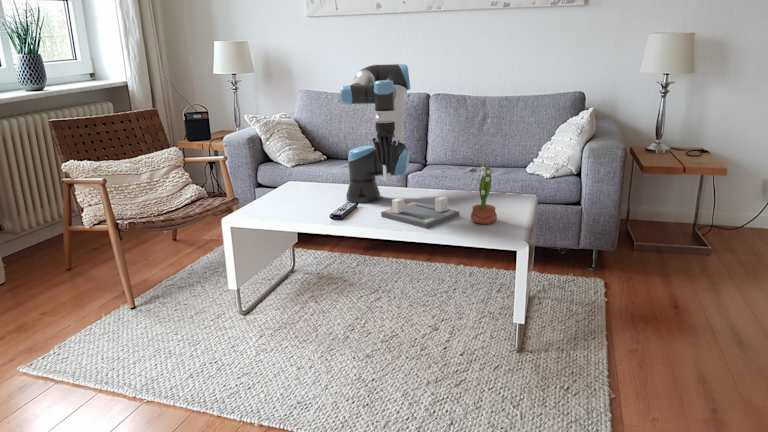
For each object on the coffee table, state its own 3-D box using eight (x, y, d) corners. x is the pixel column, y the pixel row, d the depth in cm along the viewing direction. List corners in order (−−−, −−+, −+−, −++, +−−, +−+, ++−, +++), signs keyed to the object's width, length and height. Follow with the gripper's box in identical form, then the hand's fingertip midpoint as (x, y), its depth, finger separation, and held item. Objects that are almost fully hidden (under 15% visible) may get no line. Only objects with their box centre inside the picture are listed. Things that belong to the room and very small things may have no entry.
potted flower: (496, 227, 216) (498, 161, 208) (469, 226, 218) (470, 161, 210) (497, 218, 227) (498, 155, 220) (471, 217, 229) (471, 154, 222)
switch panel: (381, 216, 234) (381, 211, 233) (414, 205, 247) (414, 201, 247) (426, 228, 217) (426, 223, 217) (459, 216, 231) (459, 211, 230)
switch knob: (435, 210, 231) (435, 198, 230) (441, 208, 234) (441, 196, 233) (441, 212, 229) (440, 199, 228) (447, 209, 232) (447, 197, 230)
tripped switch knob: (392, 212, 232) (392, 200, 230) (399, 209, 234) (399, 197, 233) (397, 213, 229) (397, 201, 228) (404, 211, 232) (404, 199, 231)
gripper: (366, 121, 227) (369, 180, 234) (390, 123, 218) (392, 184, 225) (380, 119, 232) (382, 176, 239) (403, 121, 223) (405, 181, 230)
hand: (387, 180), depth 232 cm, fingers closed
